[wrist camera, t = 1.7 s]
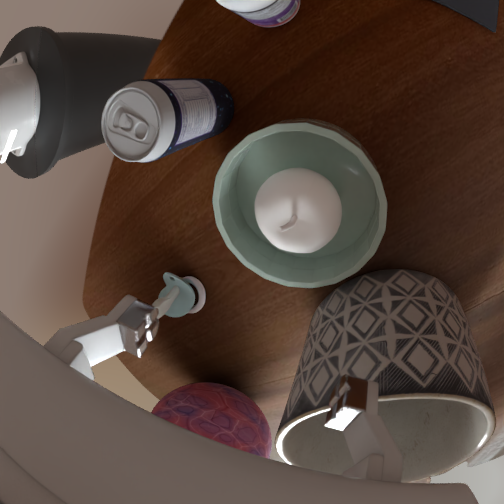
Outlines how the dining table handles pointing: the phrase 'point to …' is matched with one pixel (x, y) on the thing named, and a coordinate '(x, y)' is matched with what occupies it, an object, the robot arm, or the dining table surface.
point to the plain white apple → (298, 210)
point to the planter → (391, 375)
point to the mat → (476, 10)
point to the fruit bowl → (316, 159)
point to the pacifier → (179, 296)
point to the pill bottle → (263, 10)
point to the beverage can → (164, 116)
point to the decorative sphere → (218, 416)
